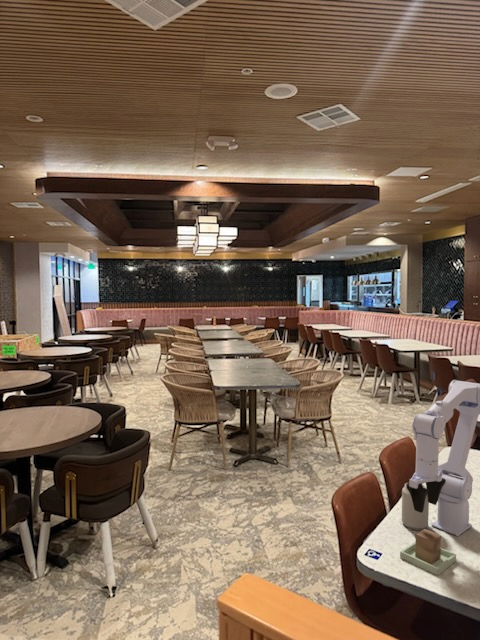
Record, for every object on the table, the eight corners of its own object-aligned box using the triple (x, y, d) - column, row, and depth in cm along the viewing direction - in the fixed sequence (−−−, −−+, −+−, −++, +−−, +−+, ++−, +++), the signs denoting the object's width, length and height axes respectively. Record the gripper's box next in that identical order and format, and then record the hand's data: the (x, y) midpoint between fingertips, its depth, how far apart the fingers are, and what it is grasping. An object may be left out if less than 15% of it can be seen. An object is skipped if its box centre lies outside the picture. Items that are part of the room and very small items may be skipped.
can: (406, 516, 142) (407, 478, 141) (431, 524, 137) (432, 485, 137) (397, 525, 136) (398, 486, 136) (423, 533, 131) (424, 493, 131)
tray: (419, 544, 125) (419, 539, 125) (456, 560, 118) (456, 554, 118) (400, 557, 119) (400, 551, 119) (437, 575, 111) (437, 568, 111)
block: (424, 550, 122) (424, 528, 121) (440, 558, 118) (441, 535, 118) (415, 556, 119) (415, 534, 118) (431, 564, 115) (432, 541, 115)
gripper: (427, 468, 117) (426, 520, 117) (453, 456, 126) (452, 505, 127) (402, 460, 122) (401, 510, 123) (429, 450, 132) (428, 496, 132)
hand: (425, 507), depth 125 cm, fingers open, 7 cm apart
